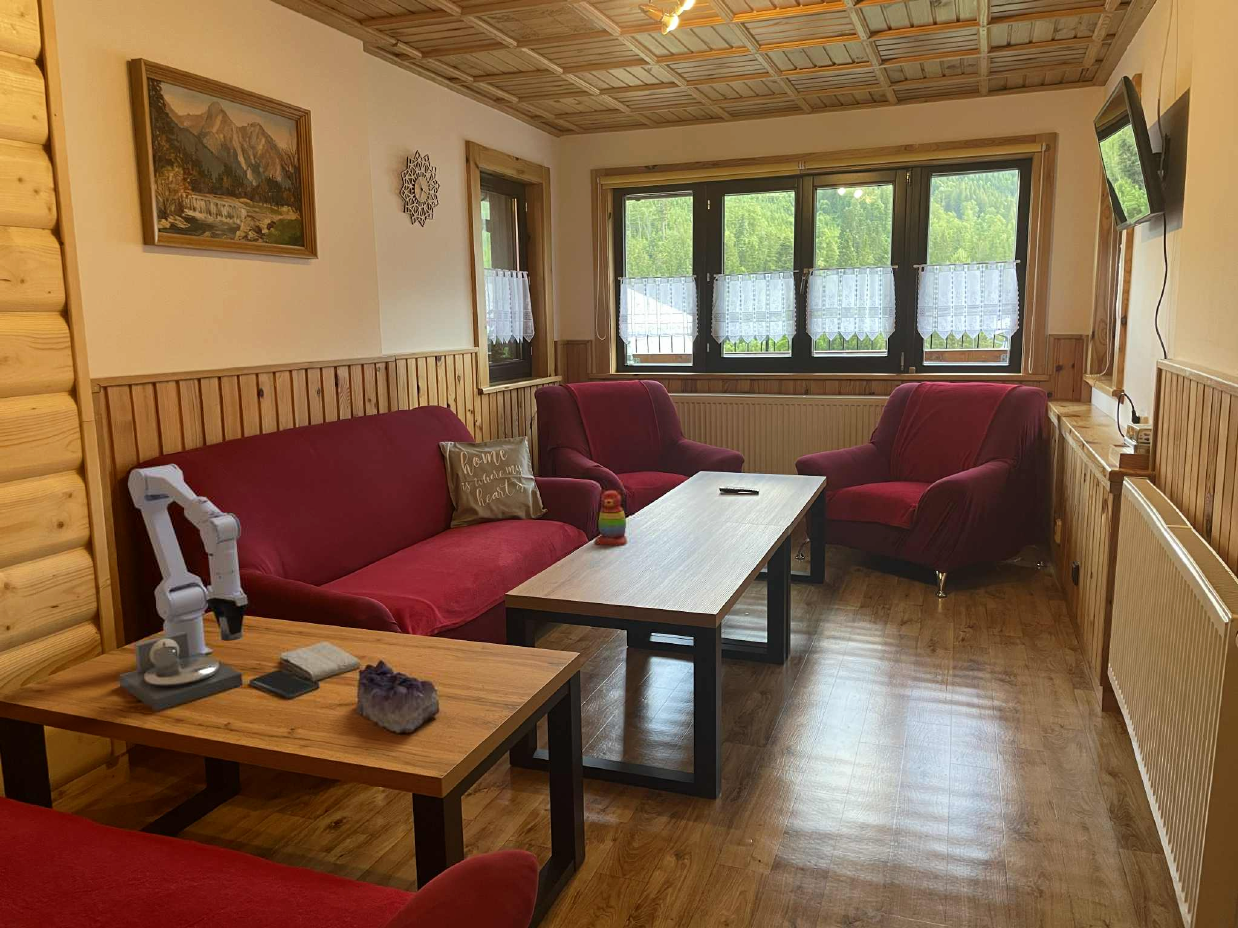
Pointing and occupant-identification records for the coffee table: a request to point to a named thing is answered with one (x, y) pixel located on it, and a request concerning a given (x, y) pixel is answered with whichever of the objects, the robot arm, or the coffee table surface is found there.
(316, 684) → the phone
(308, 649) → the washcloth
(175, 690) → the scale
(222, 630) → the cylinder
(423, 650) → the coffee table surface
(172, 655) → the cylinder
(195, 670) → the pan
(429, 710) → the geode
